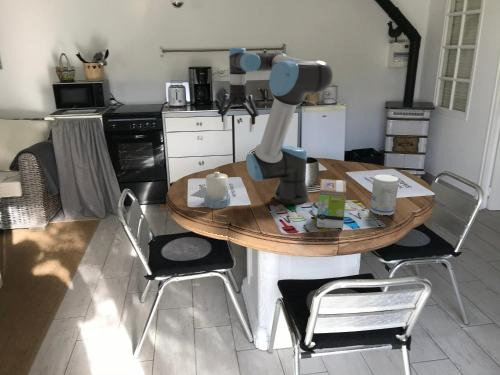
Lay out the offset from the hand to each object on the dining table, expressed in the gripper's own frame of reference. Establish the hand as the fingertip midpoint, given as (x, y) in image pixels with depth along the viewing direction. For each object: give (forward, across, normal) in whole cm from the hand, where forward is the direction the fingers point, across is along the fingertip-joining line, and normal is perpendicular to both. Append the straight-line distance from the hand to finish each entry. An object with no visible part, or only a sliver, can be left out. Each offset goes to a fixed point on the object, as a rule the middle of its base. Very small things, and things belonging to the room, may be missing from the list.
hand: (238, 130), depth 195 cm
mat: (+27, +6, +19) cm, 33 cm away
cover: (+23, -4, +29) cm, 37 cm away
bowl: (+27, -4, +29) cm, 40 cm away
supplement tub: (+27, -69, +8) cm, 75 cm away
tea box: (+27, -52, +26) cm, 64 cm away
